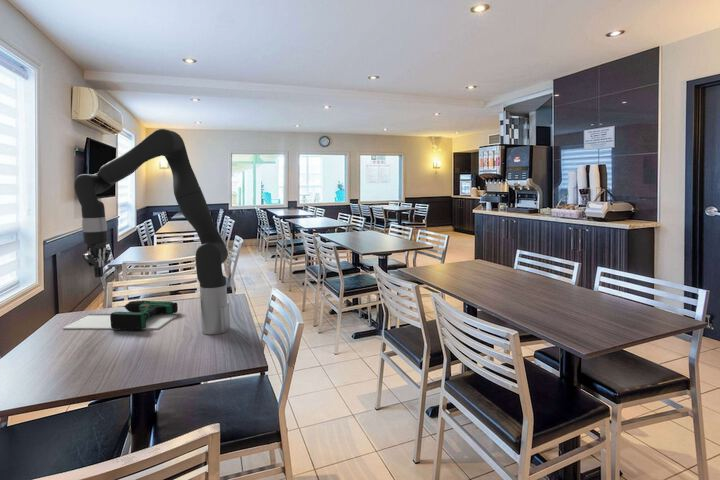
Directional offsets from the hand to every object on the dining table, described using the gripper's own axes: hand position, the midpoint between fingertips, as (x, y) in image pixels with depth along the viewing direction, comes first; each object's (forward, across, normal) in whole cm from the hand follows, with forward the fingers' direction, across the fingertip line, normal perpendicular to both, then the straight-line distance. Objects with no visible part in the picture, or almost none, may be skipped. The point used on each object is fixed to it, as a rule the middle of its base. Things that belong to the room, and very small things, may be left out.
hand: (99, 276), depth 152 cm
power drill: (+17, -1, -1) cm, 17 cm away
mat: (+20, +9, -2) cm, 22 cm away
